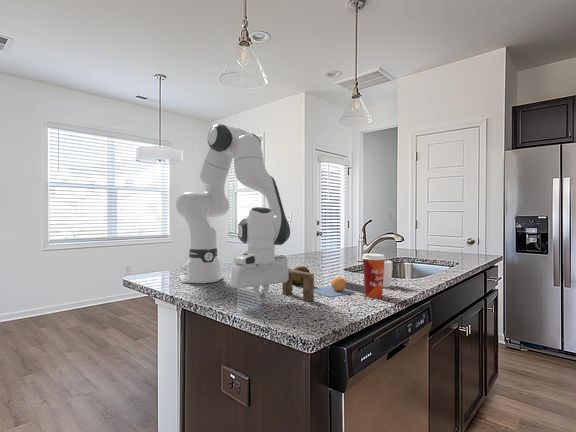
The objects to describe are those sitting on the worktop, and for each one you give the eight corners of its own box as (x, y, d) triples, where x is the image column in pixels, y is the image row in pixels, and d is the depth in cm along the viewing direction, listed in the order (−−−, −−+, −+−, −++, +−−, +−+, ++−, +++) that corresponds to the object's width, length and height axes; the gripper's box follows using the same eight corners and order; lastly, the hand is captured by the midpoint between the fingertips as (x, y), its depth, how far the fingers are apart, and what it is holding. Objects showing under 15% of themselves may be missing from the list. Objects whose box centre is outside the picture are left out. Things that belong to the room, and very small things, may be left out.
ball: (326, 287, 131) (331, 273, 132) (335, 291, 134) (340, 278, 136) (337, 290, 127) (342, 276, 128) (346, 294, 130) (350, 281, 131)
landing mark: (307, 290, 132) (307, 290, 132) (332, 286, 140) (332, 286, 140) (329, 297, 122) (329, 296, 122) (355, 292, 129) (355, 292, 129)
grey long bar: (333, 285, 142) (333, 279, 142) (336, 284, 144) (336, 278, 144) (366, 293, 128) (366, 286, 128) (369, 292, 129) (369, 286, 129)
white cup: (385, 288, 137) (385, 263, 136) (368, 285, 143) (368, 261, 142) (396, 286, 142) (396, 261, 142) (379, 283, 148) (379, 259, 148)
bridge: (306, 302, 115) (307, 274, 115) (282, 293, 127) (282, 269, 127) (313, 300, 117) (313, 273, 117) (289, 292, 128) (289, 268, 128)
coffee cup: (375, 299, 118) (375, 256, 118) (357, 295, 125) (357, 254, 125) (390, 296, 123) (390, 254, 123) (372, 292, 130) (372, 252, 130)
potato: (303, 281, 152) (303, 263, 152) (312, 287, 139) (312, 267, 139) (285, 281, 150) (285, 263, 150) (292, 288, 137) (292, 268, 137)
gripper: (281, 253, 122) (281, 292, 122) (229, 257, 110) (229, 300, 110) (292, 255, 116) (292, 296, 116) (238, 259, 105) (238, 305, 105)
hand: (261, 298), depth 113 cm, fingers closed
